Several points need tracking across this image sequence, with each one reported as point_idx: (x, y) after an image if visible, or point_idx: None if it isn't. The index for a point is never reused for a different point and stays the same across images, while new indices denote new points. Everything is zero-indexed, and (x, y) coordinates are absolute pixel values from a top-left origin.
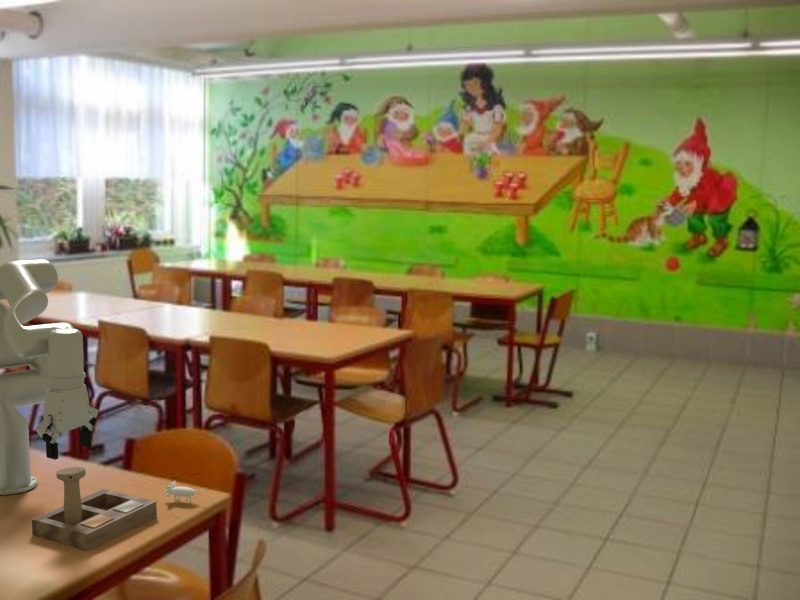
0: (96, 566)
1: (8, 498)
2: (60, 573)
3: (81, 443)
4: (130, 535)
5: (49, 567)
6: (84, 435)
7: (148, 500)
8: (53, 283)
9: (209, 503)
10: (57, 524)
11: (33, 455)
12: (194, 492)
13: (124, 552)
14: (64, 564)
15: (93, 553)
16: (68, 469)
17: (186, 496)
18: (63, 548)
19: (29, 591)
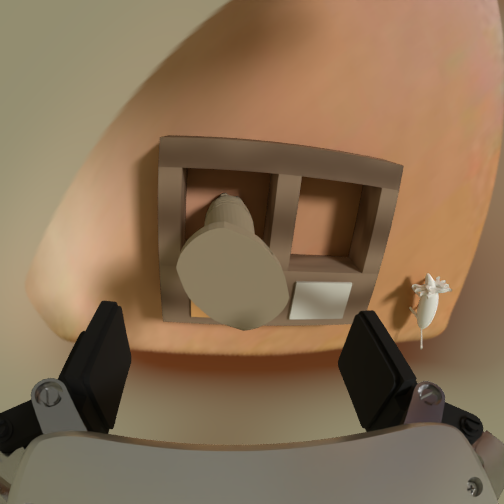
0: (138, 345)
1: None
2: (91, 314)
3: (357, 330)
4: None
5: (91, 286)
6: (366, 392)
7: (364, 308)
8: None
9: (412, 333)
10: (166, 227)
11: None
12: (421, 328)
13: (198, 350)
14: (112, 299)
15: None
16: (245, 261)
17: (415, 315)
18: (152, 251)
19: (41, 312)
